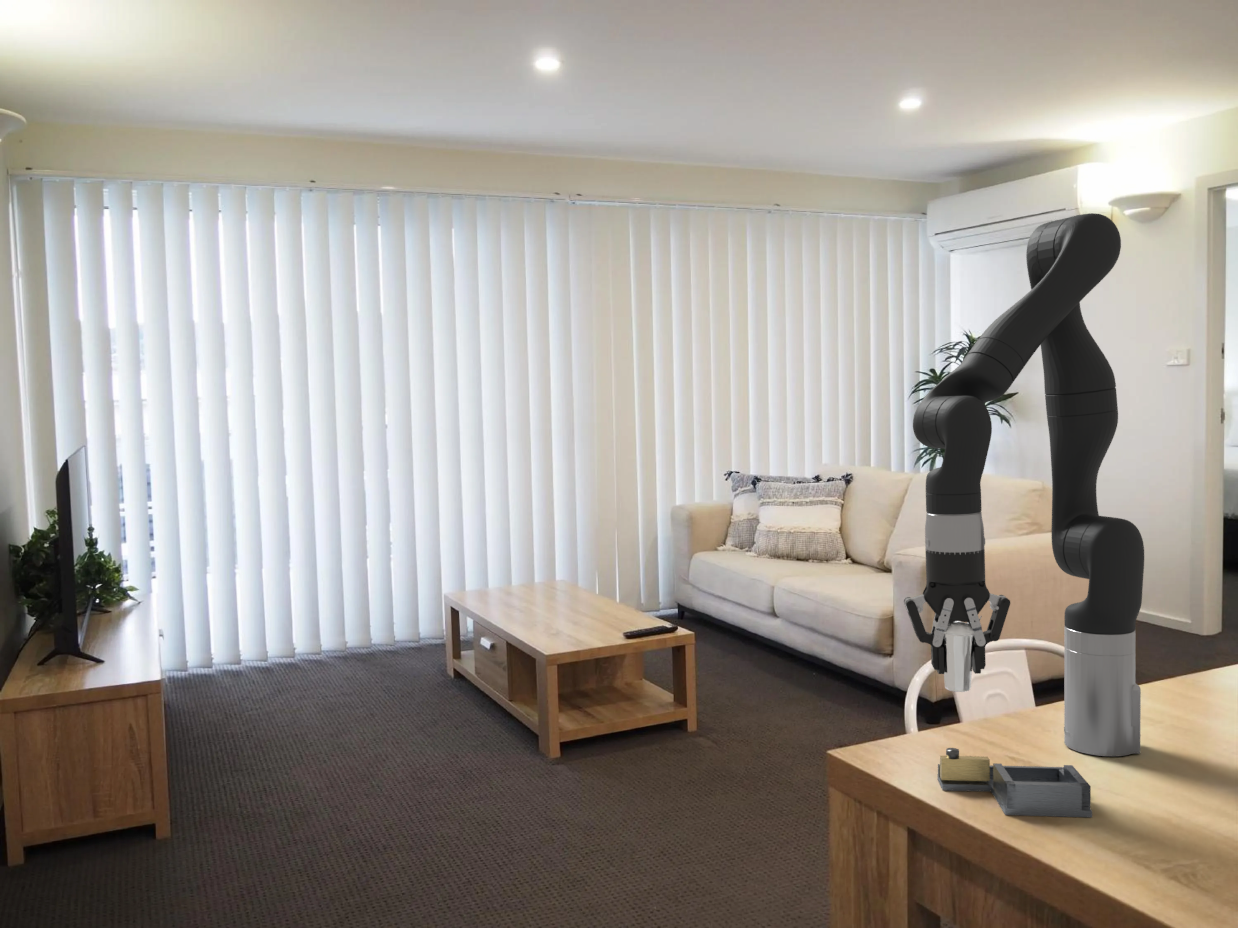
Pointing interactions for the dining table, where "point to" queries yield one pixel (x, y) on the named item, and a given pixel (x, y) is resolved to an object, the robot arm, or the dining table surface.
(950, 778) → the bar
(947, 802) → the dining table surface
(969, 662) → the milkshake
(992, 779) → the dock
